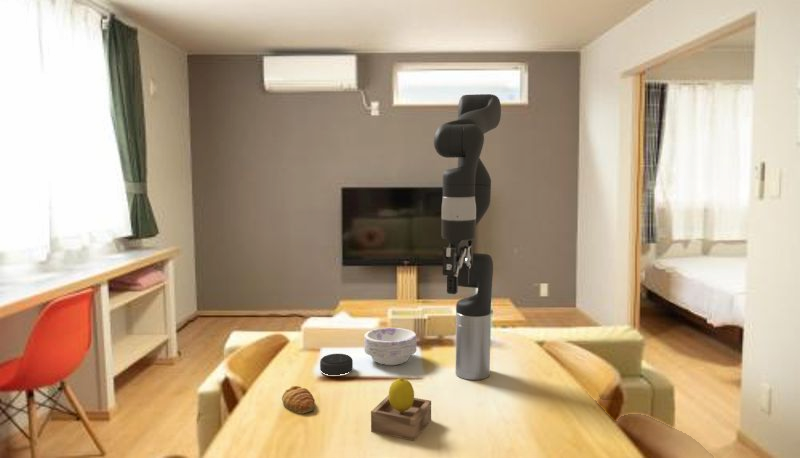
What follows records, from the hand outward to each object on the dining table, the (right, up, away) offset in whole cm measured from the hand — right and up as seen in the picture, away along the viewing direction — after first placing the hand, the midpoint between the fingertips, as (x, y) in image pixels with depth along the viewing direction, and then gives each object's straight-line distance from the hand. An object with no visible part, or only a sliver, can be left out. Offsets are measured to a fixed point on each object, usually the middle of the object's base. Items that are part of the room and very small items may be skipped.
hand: (458, 289), depth 123 cm
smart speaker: (-31, -26, +29) cm, 50 cm away
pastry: (-37, -29, +8) cm, 47 cm away
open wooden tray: (-13, -30, -2) cm, 32 cm away
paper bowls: (-16, -25, +38) cm, 48 cm away
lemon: (-13, -27, -3) cm, 30 cm away
